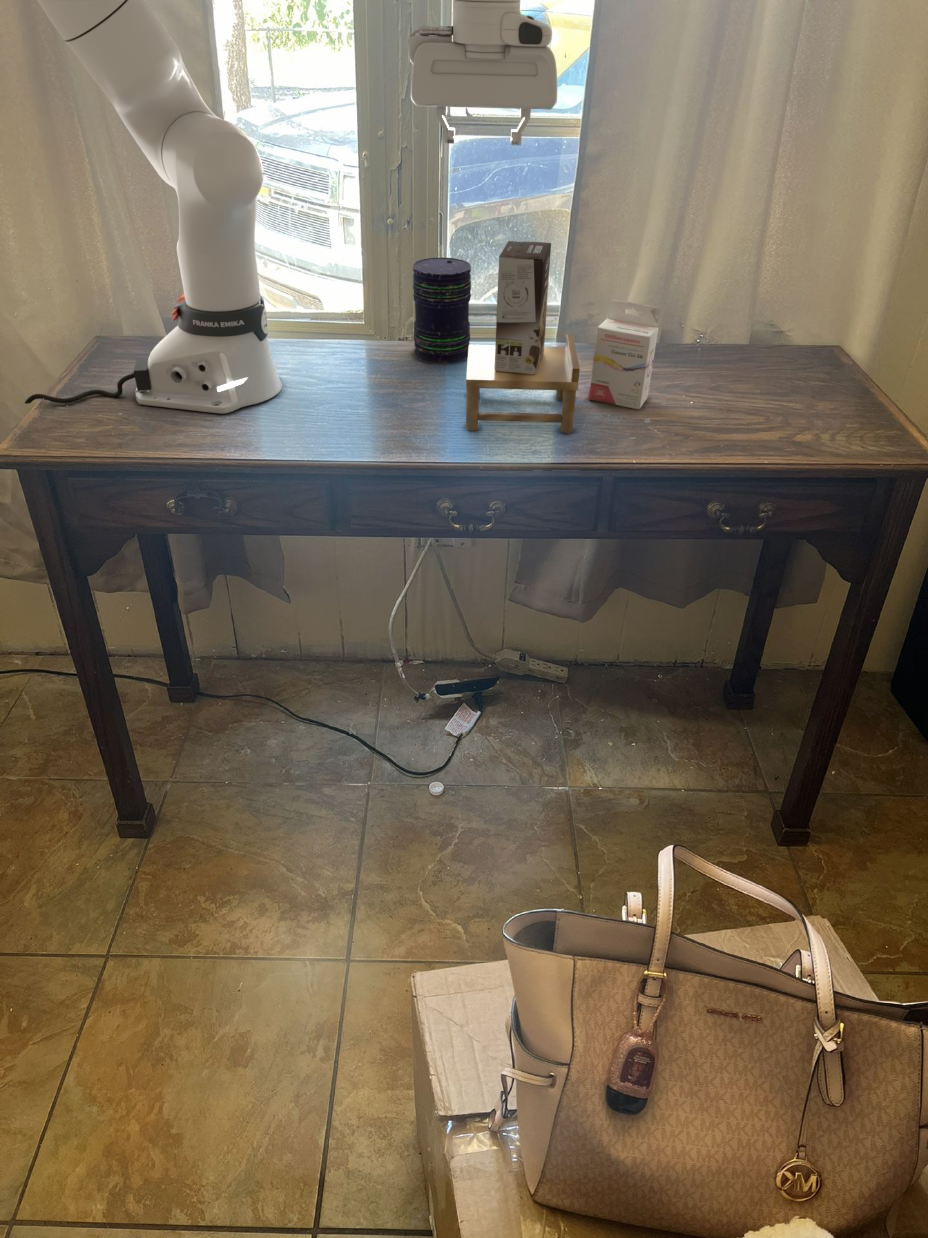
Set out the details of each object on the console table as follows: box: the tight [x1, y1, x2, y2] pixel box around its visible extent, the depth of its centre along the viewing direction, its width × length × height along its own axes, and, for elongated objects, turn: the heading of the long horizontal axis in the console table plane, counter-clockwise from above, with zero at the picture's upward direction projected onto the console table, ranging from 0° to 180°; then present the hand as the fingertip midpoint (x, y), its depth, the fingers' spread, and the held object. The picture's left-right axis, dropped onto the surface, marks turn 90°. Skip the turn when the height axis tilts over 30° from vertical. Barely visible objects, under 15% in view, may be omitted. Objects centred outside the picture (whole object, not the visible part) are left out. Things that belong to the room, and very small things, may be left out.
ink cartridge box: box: [588, 298, 661, 410], centre depth 137 cm, size 9×5×15 cm, turn 65°
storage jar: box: [412, 256, 472, 365], centre depth 151 cm, size 10×10×15 cm
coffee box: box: [494, 240, 552, 375], centre depth 127 cm, size 9×6×16 cm
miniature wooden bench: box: [465, 333, 581, 434], centre depth 133 cm, size 16×14×10 cm
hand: (482, 143), depth 126 cm, fingers open, 8 cm apart
